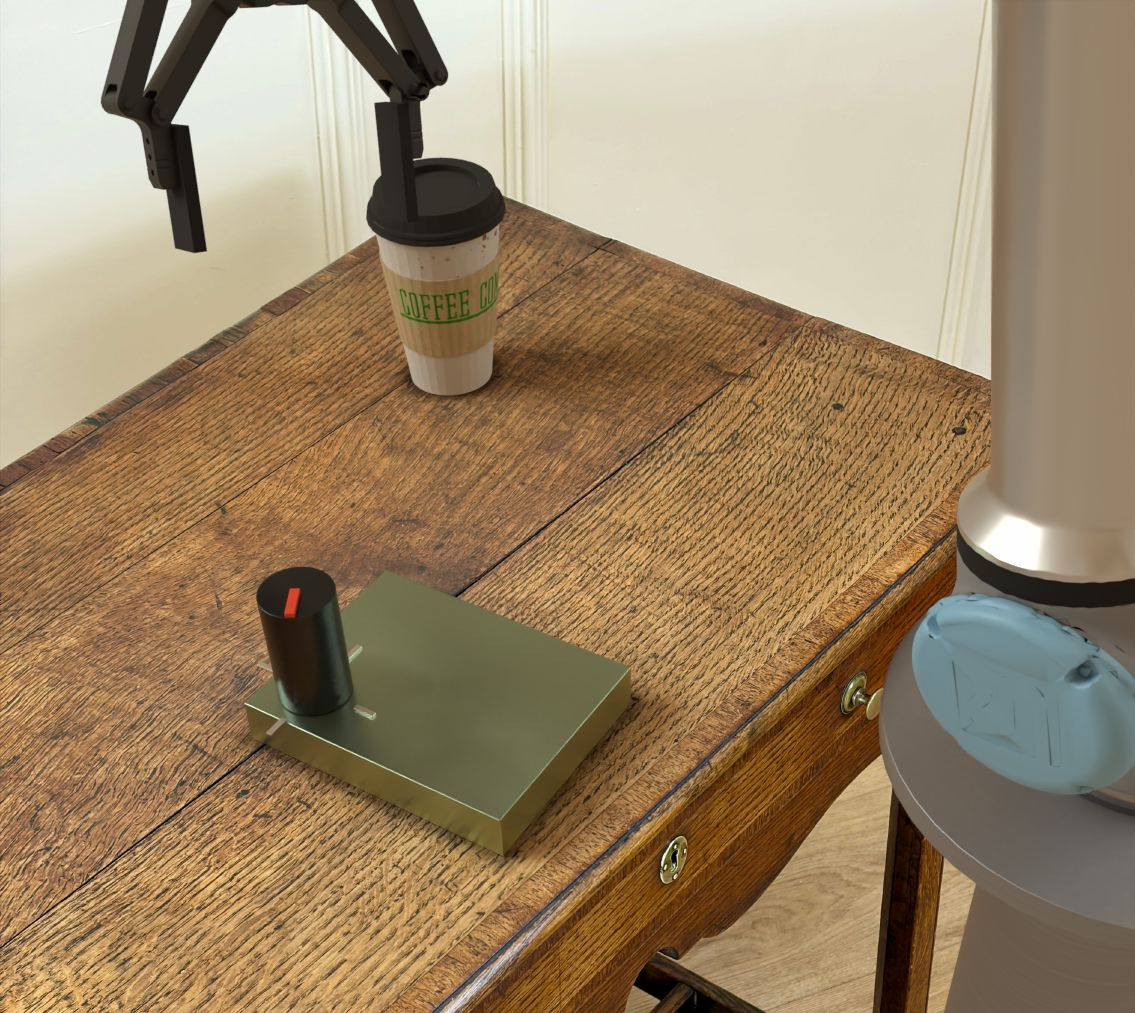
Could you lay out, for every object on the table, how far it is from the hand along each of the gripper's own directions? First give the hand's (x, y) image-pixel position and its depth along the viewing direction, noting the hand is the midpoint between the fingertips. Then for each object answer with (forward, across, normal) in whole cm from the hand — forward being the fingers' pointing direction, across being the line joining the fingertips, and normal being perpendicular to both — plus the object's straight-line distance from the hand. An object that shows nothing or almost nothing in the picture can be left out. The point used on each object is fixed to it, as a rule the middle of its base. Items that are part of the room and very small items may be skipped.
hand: (300, 235), depth 92 cm
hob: (+27, 0, +12) cm, 29 cm away
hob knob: (+24, +7, +8) cm, 26 cm away
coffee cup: (+14, -20, -17) cm, 30 cm away
